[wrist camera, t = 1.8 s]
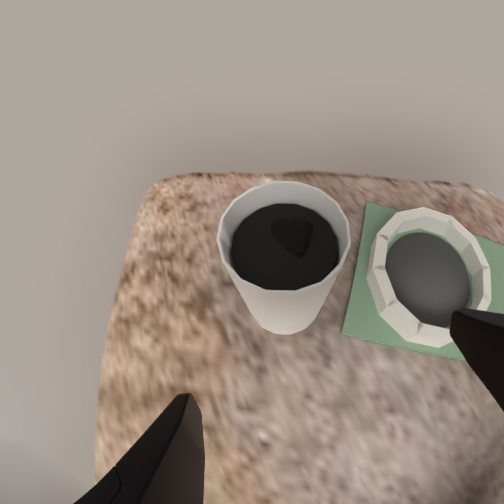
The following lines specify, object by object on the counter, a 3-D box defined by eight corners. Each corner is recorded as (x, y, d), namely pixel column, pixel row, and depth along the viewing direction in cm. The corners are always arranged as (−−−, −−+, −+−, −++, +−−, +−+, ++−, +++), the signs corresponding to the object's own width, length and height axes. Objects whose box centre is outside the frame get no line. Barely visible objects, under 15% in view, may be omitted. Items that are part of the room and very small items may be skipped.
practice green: (520, 256, 21) (532, 245, 18) (523, 368, 15) (539, 363, 13) (365, 205, 26) (371, 187, 24) (340, 333, 20) (347, 325, 18)
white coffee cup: (257, 255, 25) (241, 172, 16) (333, 272, 23) (356, 192, 14) (232, 328, 22) (196, 274, 13) (315, 349, 20) (340, 309, 11)
